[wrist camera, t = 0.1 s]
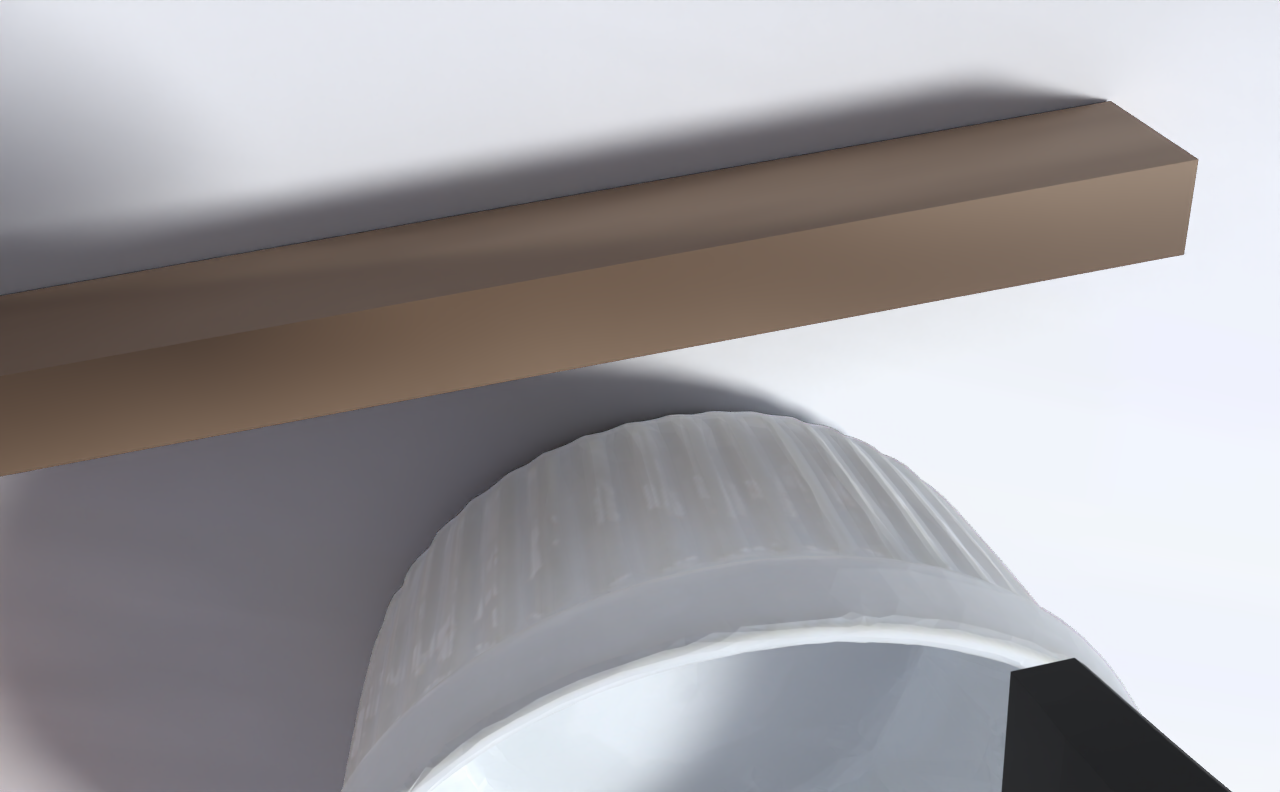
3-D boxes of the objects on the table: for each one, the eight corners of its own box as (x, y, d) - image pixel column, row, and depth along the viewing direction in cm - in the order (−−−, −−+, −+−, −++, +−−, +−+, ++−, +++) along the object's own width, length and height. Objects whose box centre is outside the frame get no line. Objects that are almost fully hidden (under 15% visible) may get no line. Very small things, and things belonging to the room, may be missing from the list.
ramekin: (181, 708, 23) (109, 1079, 17) (650, 189, 19) (767, 442, 13) (685, 918, 29) (758, 1243, 23) (1117, 562, 25) (1337, 847, 19)
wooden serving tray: (1030, 849, 30) (1111, 1004, 26) (-19, 1088, 28) (-75, 1290, 24) (1110, 101, 19) (1261, 201, 16) (-574, 396, 17) (-806, 584, 14)
